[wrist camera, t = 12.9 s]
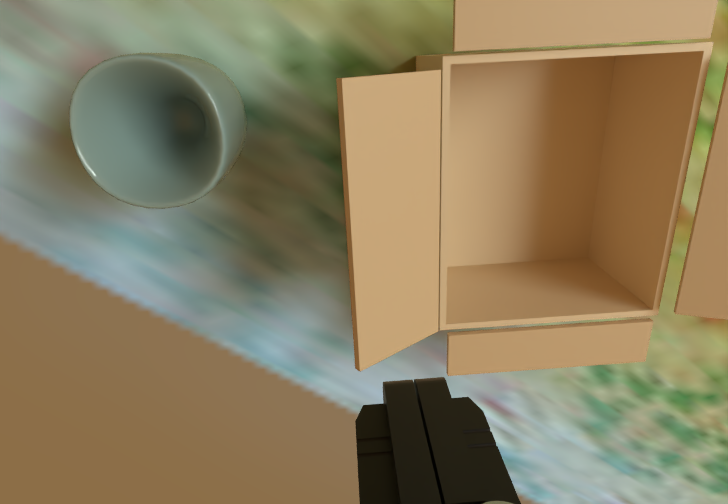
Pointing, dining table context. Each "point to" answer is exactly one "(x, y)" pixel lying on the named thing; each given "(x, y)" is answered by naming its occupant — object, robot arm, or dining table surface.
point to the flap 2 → (709, 231)
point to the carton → (562, 175)
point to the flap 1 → (391, 208)
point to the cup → (157, 127)
